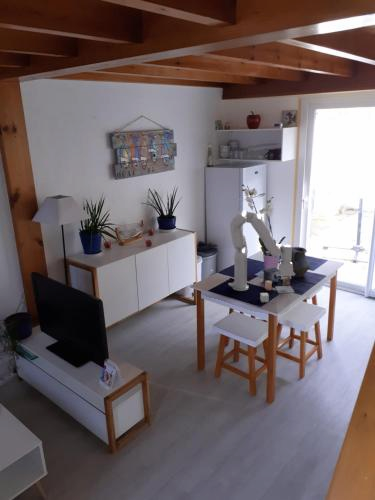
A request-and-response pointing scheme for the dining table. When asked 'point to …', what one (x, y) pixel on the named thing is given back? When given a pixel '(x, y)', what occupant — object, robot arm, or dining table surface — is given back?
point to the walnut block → (286, 281)
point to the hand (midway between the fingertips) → (285, 283)
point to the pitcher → (299, 261)
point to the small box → (271, 275)
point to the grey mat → (284, 289)
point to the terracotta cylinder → (268, 285)
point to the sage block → (264, 297)
